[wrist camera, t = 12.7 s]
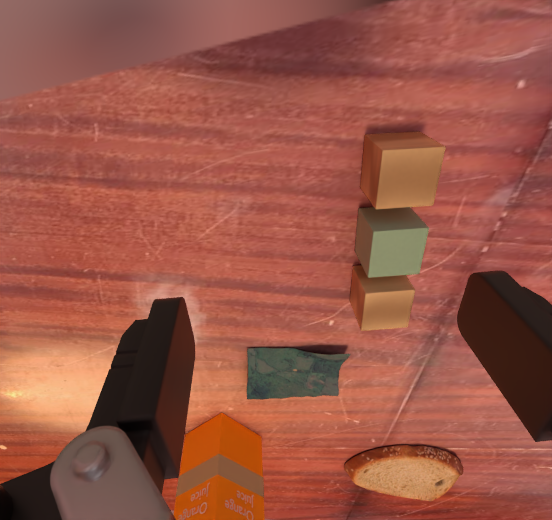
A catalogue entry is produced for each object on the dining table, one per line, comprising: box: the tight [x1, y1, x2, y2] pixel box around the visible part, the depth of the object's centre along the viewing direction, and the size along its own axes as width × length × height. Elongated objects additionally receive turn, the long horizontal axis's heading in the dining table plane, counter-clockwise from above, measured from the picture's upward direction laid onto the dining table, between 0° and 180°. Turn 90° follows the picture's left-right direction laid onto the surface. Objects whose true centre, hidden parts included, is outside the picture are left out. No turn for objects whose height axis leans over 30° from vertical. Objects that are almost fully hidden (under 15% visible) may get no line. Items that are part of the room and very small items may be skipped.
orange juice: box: [174, 413, 264, 520], centre depth 47 cm, size 8×9×20 cm
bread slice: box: [344, 445, 463, 501], centre depth 62 cm, size 18×18×4 cm
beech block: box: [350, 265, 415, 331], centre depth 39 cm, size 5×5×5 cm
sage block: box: [355, 207, 429, 278], centre depth 35 cm, size 5×5×5 cm
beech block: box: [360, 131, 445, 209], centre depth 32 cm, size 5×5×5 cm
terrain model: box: [247, 348, 350, 399], centre depth 47 cm, size 13×8×2 cm, turn 86°
